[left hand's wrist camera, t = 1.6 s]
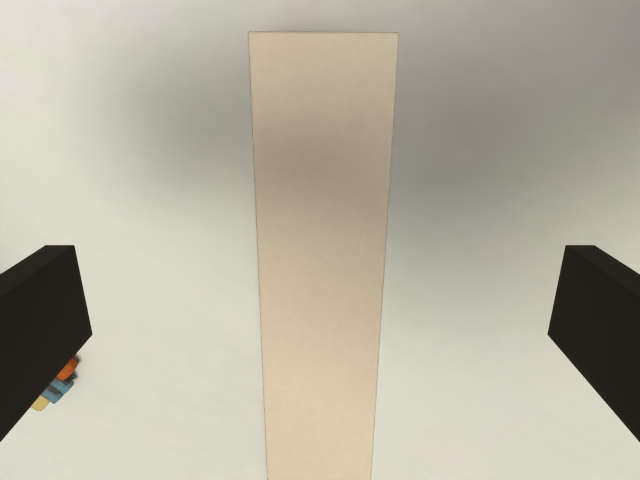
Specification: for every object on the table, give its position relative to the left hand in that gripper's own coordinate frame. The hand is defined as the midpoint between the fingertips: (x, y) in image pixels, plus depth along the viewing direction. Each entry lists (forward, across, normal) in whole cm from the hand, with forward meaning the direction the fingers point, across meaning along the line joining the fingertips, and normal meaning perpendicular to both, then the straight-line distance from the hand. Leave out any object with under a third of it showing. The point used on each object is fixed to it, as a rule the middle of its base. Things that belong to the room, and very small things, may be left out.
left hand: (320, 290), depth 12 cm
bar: (+15, 0, -27) cm, 31 cm away
